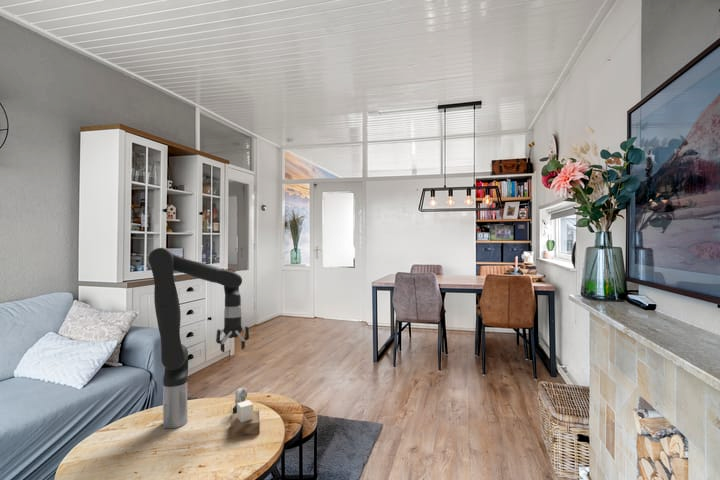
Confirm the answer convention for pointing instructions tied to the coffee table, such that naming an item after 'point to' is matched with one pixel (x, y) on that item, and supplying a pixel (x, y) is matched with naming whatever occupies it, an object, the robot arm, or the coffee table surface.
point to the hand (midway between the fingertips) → (232, 350)
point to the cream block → (244, 411)
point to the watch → (240, 397)
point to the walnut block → (245, 426)
